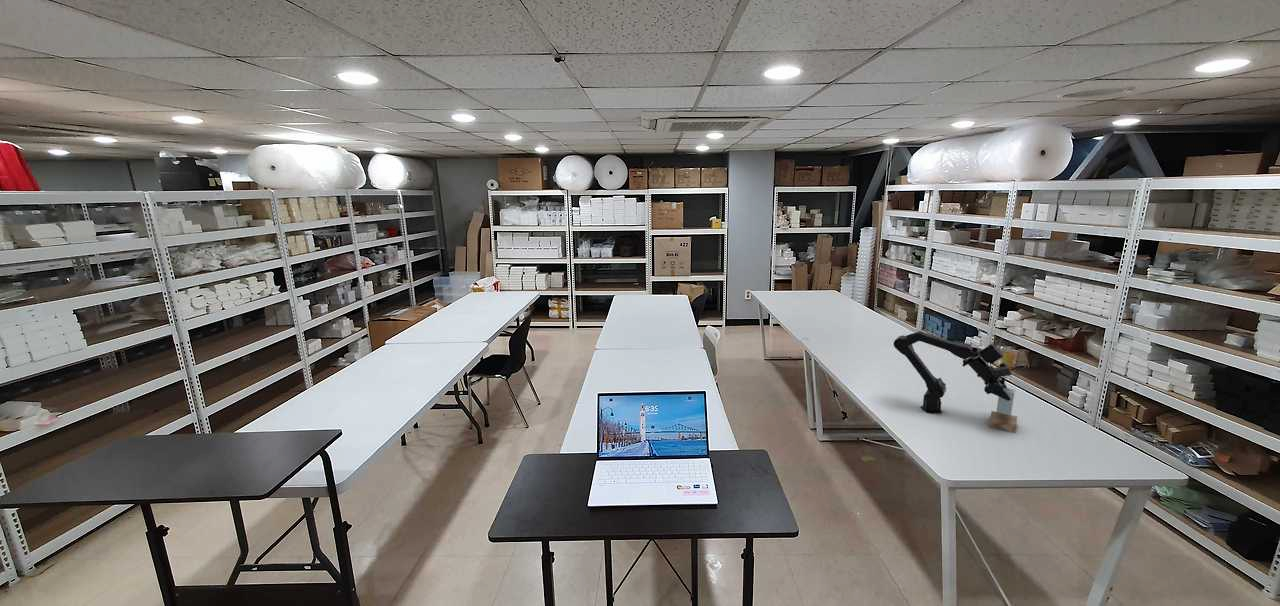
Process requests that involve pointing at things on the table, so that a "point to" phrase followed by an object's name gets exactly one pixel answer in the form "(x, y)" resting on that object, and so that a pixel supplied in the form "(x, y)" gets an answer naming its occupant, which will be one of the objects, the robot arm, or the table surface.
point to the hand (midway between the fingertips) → (1010, 398)
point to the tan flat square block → (1002, 421)
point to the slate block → (1006, 402)
